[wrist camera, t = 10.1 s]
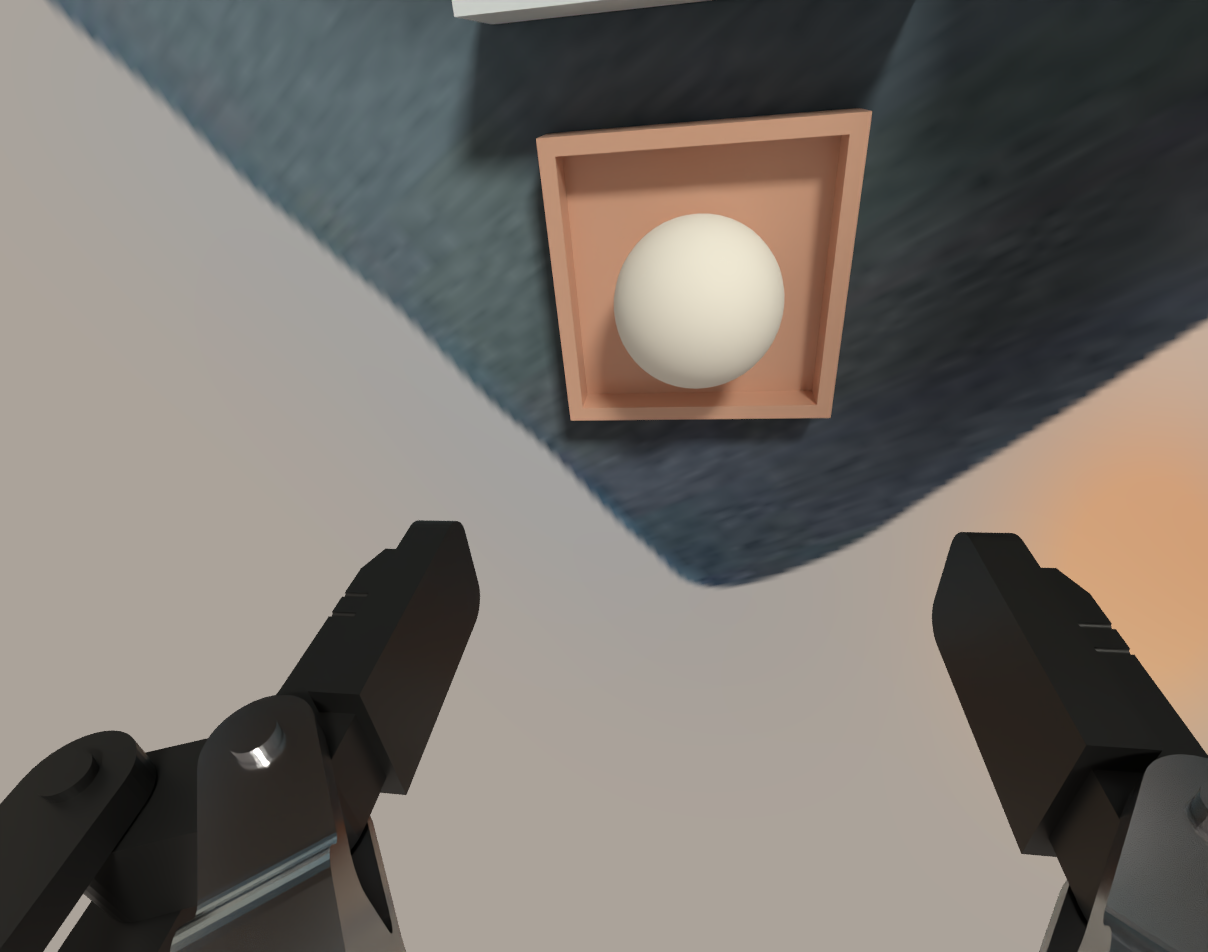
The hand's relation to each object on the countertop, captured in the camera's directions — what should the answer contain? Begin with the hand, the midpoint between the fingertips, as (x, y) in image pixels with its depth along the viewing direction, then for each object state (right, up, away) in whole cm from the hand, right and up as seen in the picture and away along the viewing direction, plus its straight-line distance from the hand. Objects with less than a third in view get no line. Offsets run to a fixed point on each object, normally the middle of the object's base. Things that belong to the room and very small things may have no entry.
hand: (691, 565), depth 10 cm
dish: (+2, +10, +15) cm, 18 cm away
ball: (+2, +9, +14) cm, 17 cm away
